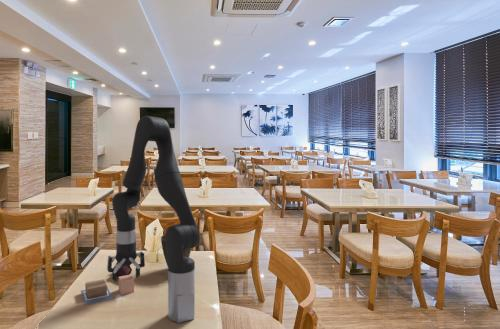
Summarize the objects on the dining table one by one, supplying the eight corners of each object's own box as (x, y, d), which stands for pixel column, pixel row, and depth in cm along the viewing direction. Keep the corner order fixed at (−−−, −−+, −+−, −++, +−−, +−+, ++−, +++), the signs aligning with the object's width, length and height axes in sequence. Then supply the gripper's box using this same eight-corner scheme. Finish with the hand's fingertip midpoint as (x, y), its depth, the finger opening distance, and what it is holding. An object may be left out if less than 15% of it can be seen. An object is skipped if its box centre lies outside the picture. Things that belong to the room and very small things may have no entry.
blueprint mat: (113, 300, 139) (113, 298, 139) (84, 306, 134) (84, 304, 134) (107, 286, 151) (106, 285, 151) (80, 291, 146) (80, 290, 146)
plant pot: (158, 266, 174) (157, 234, 173) (188, 262, 181) (188, 231, 179) (164, 277, 161) (164, 243, 160) (196, 272, 167) (196, 239, 166)
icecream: (137, 267, 156) (128, 259, 169) (120, 266, 152) (112, 258, 165) (134, 283, 155) (125, 274, 168) (116, 282, 152) (109, 273, 164)
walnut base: (107, 295, 142) (106, 285, 142) (87, 299, 139) (87, 289, 138) (104, 288, 148) (103, 279, 148) (85, 292, 145) (85, 282, 144)
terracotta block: (134, 293, 146) (133, 278, 145) (121, 295, 143) (121, 281, 143) (131, 288, 150) (131, 274, 149) (118, 290, 147) (118, 276, 147)
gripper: (108, 245, 138) (109, 286, 140) (146, 240, 145) (146, 279, 147) (105, 240, 145) (106, 278, 146) (141, 235, 152) (141, 272, 153)
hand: (126, 279), depth 147 cm, fingers open, 8 cm apart
